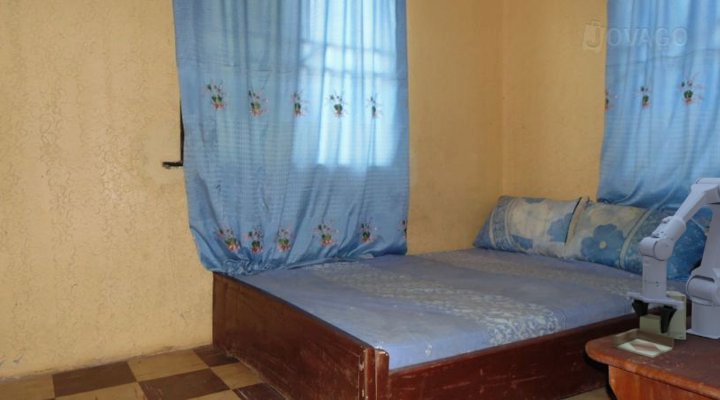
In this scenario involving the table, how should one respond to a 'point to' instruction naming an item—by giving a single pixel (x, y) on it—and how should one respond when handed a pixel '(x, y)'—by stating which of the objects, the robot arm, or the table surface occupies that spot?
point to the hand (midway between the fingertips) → (653, 330)
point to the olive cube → (651, 324)
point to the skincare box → (677, 317)
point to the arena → (644, 342)
